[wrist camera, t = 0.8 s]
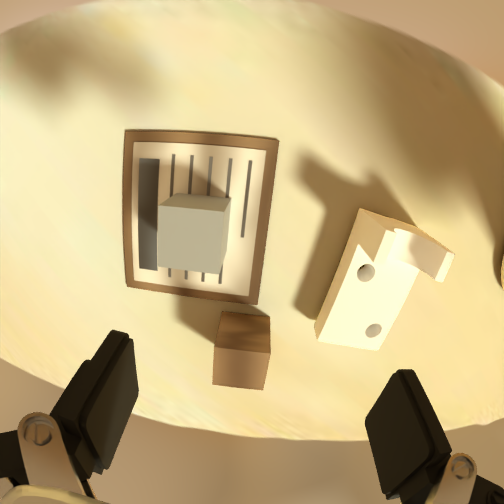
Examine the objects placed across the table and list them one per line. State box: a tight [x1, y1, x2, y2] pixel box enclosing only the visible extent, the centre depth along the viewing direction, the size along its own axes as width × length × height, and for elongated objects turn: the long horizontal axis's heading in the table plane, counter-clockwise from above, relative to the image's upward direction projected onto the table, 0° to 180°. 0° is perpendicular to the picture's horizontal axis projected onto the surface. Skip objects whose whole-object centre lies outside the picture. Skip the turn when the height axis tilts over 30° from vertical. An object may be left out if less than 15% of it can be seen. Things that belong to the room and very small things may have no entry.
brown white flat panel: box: [123, 131, 279, 305], centre depth 27 cm, size 14×16×1 cm
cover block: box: [158, 193, 232, 274], centre depth 25 cm, size 5×5×5 cm
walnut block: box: [212, 311, 271, 390], centre depth 29 cm, size 5×5×6 cm
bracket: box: [314, 208, 455, 351], centre depth 26 cm, size 13×7×8 cm, turn 166°
